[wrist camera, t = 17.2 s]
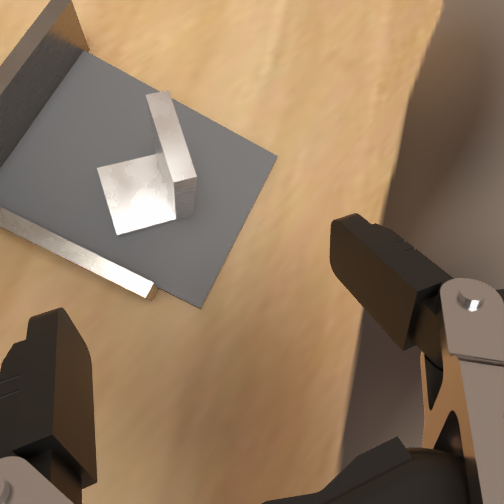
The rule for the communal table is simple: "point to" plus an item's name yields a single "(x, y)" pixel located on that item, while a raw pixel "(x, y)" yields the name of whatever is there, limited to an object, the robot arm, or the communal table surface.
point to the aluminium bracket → (152, 176)
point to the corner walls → (28, 108)
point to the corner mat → (124, 149)
